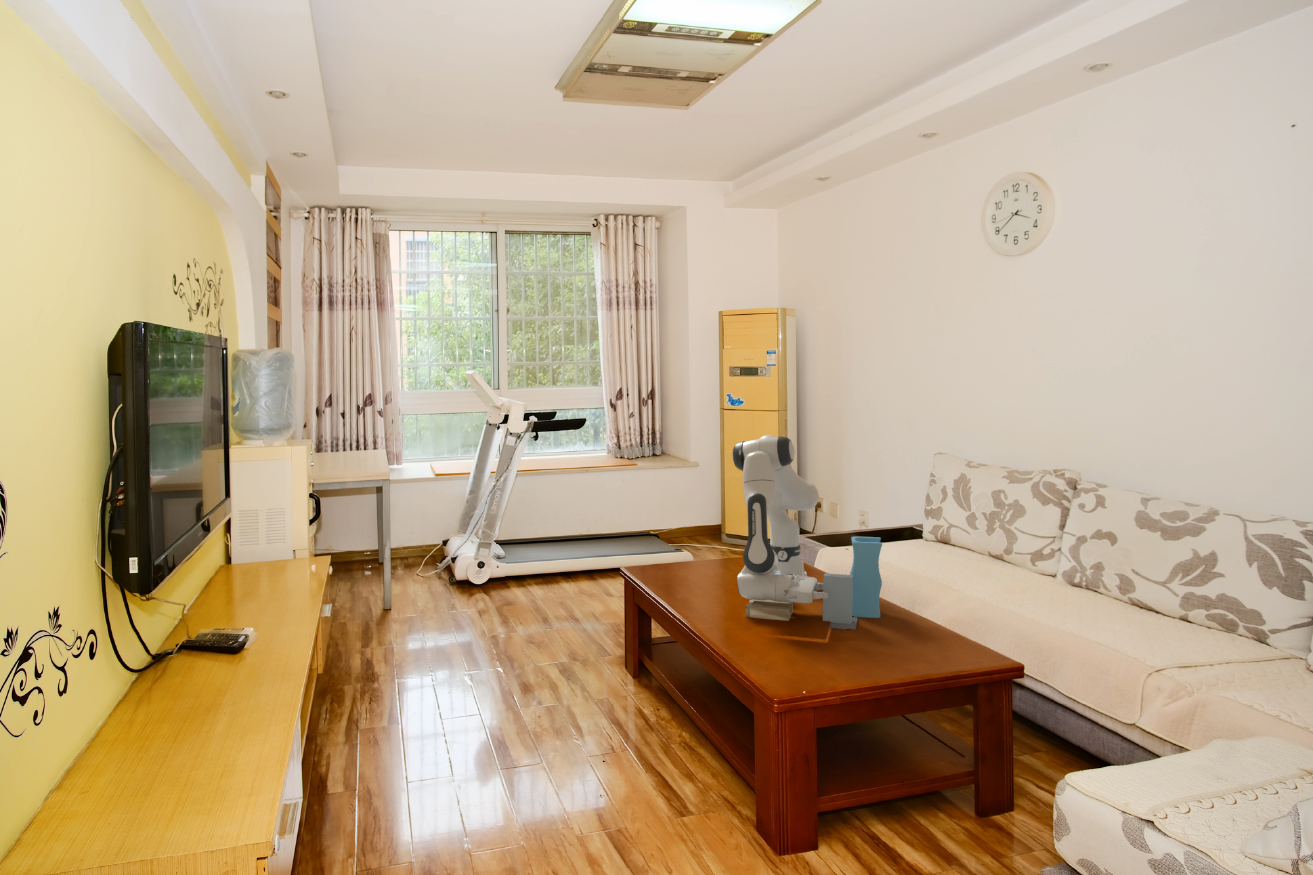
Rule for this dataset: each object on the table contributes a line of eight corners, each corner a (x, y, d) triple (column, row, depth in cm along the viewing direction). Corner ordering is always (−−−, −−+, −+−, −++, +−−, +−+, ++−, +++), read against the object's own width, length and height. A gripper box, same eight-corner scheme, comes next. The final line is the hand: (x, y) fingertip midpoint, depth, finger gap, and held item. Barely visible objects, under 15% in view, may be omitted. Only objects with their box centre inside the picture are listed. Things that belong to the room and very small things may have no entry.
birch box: (751, 611, 284) (751, 598, 284) (792, 614, 280) (792, 601, 280) (745, 619, 275) (745, 606, 274) (788, 623, 271) (788, 609, 271)
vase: (880, 618, 277) (882, 543, 275) (850, 616, 279) (851, 542, 277) (879, 609, 286) (880, 537, 284) (849, 608, 288) (850, 536, 286)
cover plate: (823, 618, 274) (824, 573, 273) (852, 620, 272) (852, 575, 271) (822, 621, 271) (823, 575, 270) (851, 624, 268) (852, 577, 267)
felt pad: (820, 616, 279) (820, 614, 279) (857, 619, 276) (857, 617, 275) (816, 626, 267) (816, 625, 267) (855, 630, 264) (855, 628, 264)
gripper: (782, 586, 265) (826, 589, 261) (790, 571, 285) (831, 574, 281) (781, 606, 266) (826, 609, 262) (789, 590, 285) (831, 593, 281)
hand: (829, 591), depth 272 cm, fingers open, 8 cm apart
